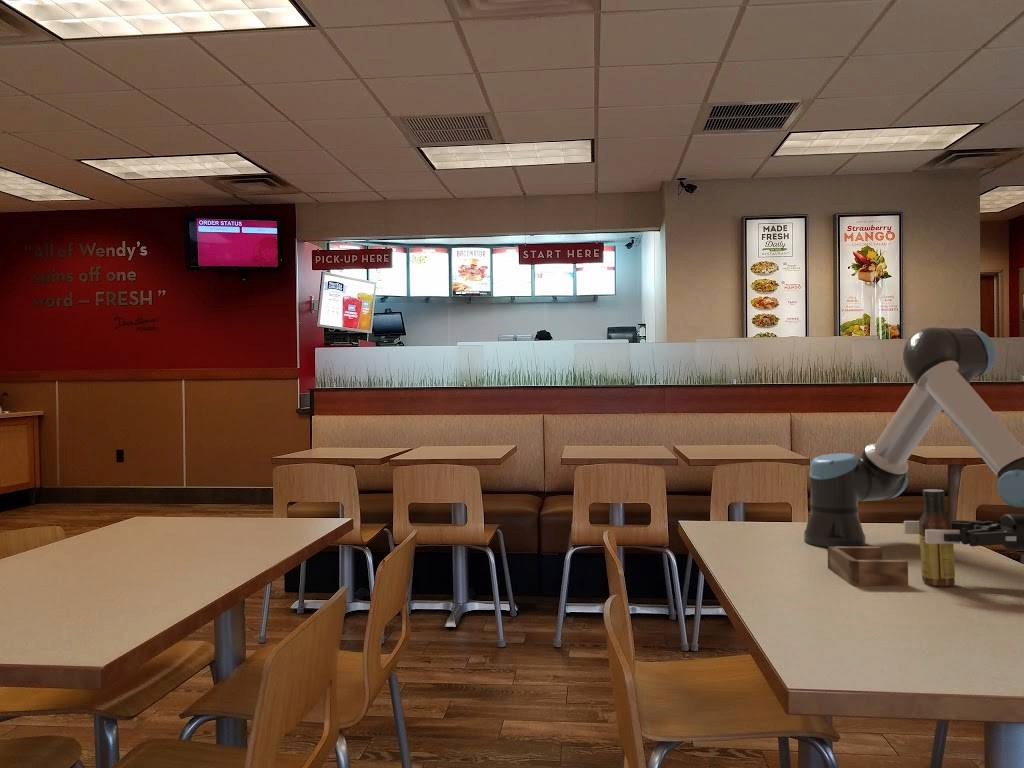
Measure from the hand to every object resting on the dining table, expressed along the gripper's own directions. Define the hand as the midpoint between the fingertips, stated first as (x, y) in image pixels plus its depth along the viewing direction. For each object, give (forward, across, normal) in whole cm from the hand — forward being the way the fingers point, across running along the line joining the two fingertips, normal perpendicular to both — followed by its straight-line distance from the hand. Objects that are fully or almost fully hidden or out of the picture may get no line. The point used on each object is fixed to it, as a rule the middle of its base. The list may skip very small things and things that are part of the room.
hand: (914, 531), depth 161 cm
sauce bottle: (-4, 0, -11) cm, 12 cm away
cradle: (+7, +6, -11) cm, 14 cm away
